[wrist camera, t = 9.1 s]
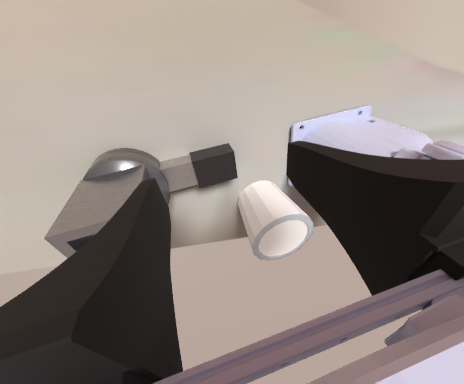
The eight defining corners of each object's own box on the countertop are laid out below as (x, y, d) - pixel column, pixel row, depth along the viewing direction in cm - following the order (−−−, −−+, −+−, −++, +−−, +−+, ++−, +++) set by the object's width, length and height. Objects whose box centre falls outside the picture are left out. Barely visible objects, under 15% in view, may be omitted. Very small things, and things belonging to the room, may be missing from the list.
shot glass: (222, 206, 24) (238, 251, 19) (260, 166, 22) (291, 203, 17) (256, 224, 28) (278, 267, 23) (292, 192, 26) (325, 229, 21)
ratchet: (225, 123, 18) (241, 143, 14) (234, 183, 23) (249, 210, 19) (71, 159, 16) (42, 193, 13) (113, 216, 21) (101, 254, 17)
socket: (144, 164, 16) (136, 212, 11) (165, 208, 19) (166, 259, 14) (80, 180, 15) (44, 238, 11) (113, 223, 18) (96, 282, 14)
